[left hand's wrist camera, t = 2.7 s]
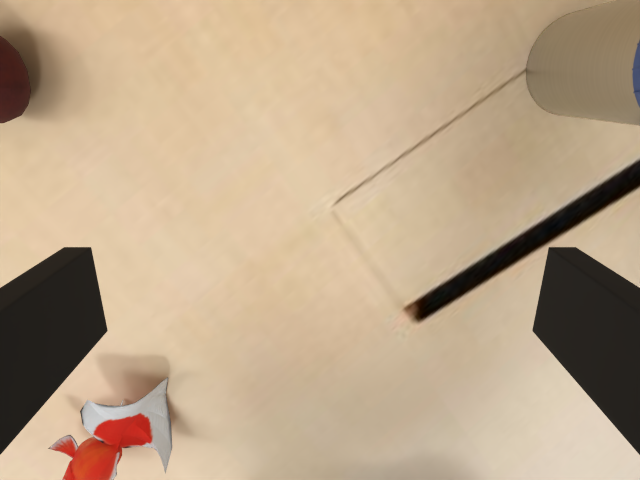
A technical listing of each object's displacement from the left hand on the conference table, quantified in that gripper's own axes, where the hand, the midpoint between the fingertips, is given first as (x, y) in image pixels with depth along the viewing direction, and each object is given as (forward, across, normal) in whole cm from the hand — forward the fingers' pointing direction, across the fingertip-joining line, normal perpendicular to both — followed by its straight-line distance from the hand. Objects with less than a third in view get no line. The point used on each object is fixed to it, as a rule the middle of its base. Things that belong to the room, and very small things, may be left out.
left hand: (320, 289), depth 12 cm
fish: (+28, +22, +29) cm, 46 cm away
